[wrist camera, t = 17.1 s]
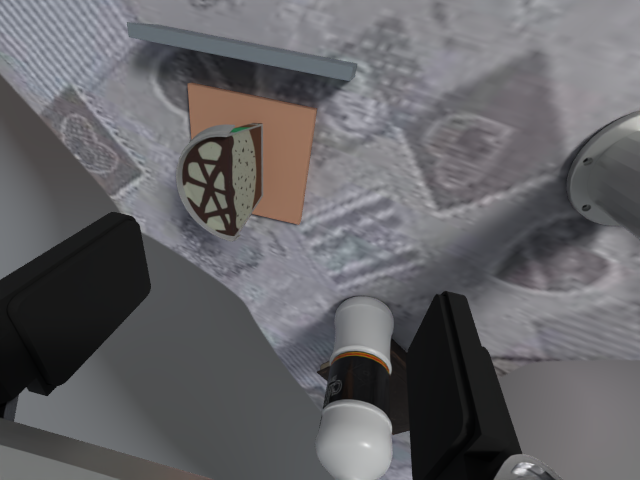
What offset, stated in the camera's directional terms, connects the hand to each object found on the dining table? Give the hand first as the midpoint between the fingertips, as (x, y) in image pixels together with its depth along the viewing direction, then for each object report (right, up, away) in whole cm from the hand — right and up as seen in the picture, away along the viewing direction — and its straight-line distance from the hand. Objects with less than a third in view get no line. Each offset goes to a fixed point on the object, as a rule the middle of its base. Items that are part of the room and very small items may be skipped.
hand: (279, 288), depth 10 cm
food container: (-9, +12, +30) cm, 33 cm away
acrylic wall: (-6, +22, +24) cm, 33 cm away
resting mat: (-8, +12, +30) cm, 34 cm away
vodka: (+8, -10, +41) cm, 44 cm away
